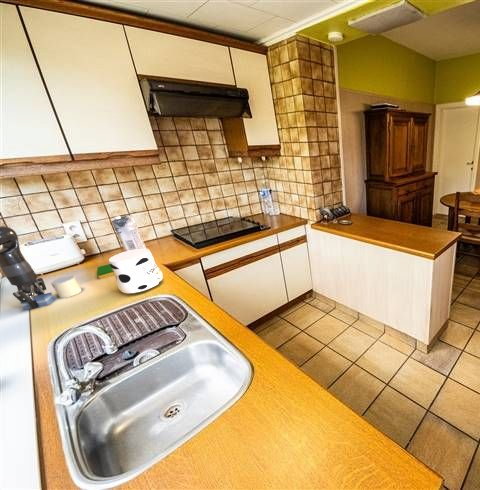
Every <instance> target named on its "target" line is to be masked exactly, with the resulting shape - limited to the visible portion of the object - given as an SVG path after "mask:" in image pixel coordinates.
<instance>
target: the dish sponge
mask: <svg viewBox="0 0 480 490" xmlns="http://www.w3.org/2000/svg"><path fill="white" fill-rule="evenodd" d="M96 268H97V269H96V271H97V277H98V278H99V279H100V280H101V279H103V278H107V277H110V276H113V275H114V276H115V274H114V272H113V270H112V268H111V266H110V263H108V264H105V265H101V266H97V267H96Z"/></svg>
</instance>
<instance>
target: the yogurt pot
mask: <svg viewBox="0 0 480 490" xmlns="http://www.w3.org/2000/svg"><path fill="white" fill-rule="evenodd" d="M50 285H51V286H52V288H53V290H54V291H55V292H56V295H57V296H58V297H59V299H64V298H65V299H66V298H69V297H72V296H75V295H77V294H79V293H81V292H82V288H81V286H80V285H79V283H78V281H77V279H76V278H75V276H74V275H66V276H62V277H59V278H56V279H54V280H53V281H51V282H50Z"/></svg>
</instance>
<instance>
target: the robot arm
mask: <svg viewBox="0 0 480 490" xmlns="http://www.w3.org/2000/svg"><path fill="white" fill-rule="evenodd" d="M0 246H2V247H1V249H0V269H1V271H2V273H3V274H4V276H5V278H6V279H7V280H8V282H9V283H10V285H11V286H14V287H16V288H17V289H16V290H17V291H15V292H13V293H12V296H14V298H16V299H17V300H18V301H19V302H20V304H21V303H25V302H28V304H29V305H30V307H31V309H37V308H40V307H39V305H38V303H37V302H36V300H35V299H34V296H36V295H41V294H46V293H45V291H47V287H46V284H45V281H44V279H43V277H38V275H37V274H36V272H35V271H34V268H33V267H32V266H31V265H30V263H29V262H28V261H27V260H26V258H25V257H24V255H23V253H22V251H21V247H20V243H19V236H18V234H17V232H16V231H15V230H14V229H12V228H11V227H9V226H5V225H1V226H0ZM29 297H30V298H29Z"/></svg>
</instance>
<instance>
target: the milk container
mask: <svg viewBox="0 0 480 490" xmlns="http://www.w3.org/2000/svg"><path fill="white" fill-rule="evenodd" d="M108 264H110V266H111V268H112V270H113V272H114V276H115V281H116V285H117V288H118V289H119V291H120V292H122V293H123V294H127V295H134V294H139V293H144V292H147V291H149V290H152V289H155V288H156V287H158V286H159V285H160V284H161V283H162V282H163V280H164V276H163V272H162V270H161V269H160V267H159V266H158V265H157V264H156V261H155V259H154V256H153V254H152V252H151V250H150V249H149V248H147V247H146V248H140V249H133V250H128V251H125V250H124V251H122V252H119V253H117V254H115V255H112V256H111V257H110V258H109V259H108Z"/></svg>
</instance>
